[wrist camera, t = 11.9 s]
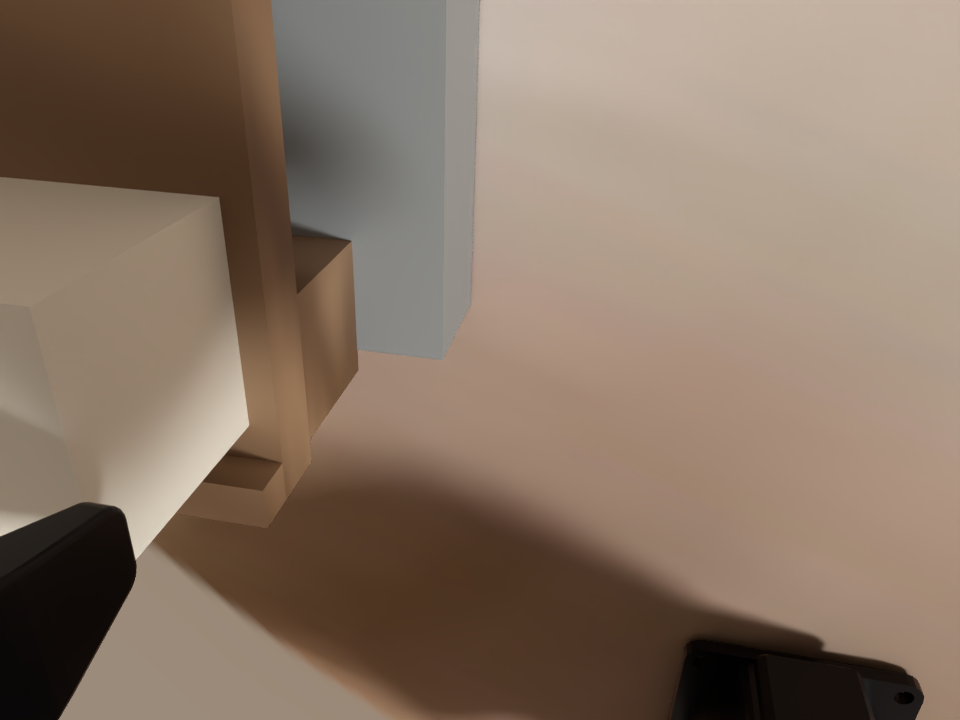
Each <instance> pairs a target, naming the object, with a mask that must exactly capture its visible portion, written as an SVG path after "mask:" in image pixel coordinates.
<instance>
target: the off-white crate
mask: <svg viewBox="0 0 960 720" xmlns="http://www.w3.org/2000/svg"><path fill="white" fill-rule="evenodd" d="M248 426H249V420H248V413H247V405H246V398H245V390H244V382H243V375H242V367H241V360H240V352H239V345H238V337H237V329H236V322H235V314H234V307H233V299H232V291H231V284H230V276H229V269H228V261H227V254H226V246H225V238H224V231H223V223H222V216H221V208H220V201H219V197H211V196H201V195H190V194H179V193H168V192H157V191H147V190H136V189H125V188H114V187H104V186H93V185H82V184H71V183H61V182H50V181H39V180H28V179H17V178H7V177H0V536H2V535H5V534H7V533H9V532H12V531H14V530H16V529H19V528H21V527H24V526H26V525H28V524H31V523H33V522H35V521H38V520H40V519H42V518H45V517H47V516H50V515H52V514H54V513H57V512H59V511H61V510H64V509H66V508H68V507H71V506H73V505H76V504H78V503H81V502H94V503H100V504H106V505H112V506H116V507H118V508H120V509H121V510H122V511H123V513H124V514H125V516H126V519H127V524H128V528H129V533H130V537H131V542H132V546H133V550H134V555H135V559H137V558H138V557H139V556H140V555H141V554H142V552H143V551H144V550H145V549H146V548H147V546H148V545H149V544H150V543H151V542H152V540H153V539H154V538H155V537H156V536H157V534H158V533H159V532H160V531H161V530H162V529H163V527H164V526H165V525H166V524H167V523H168V521H169V520H170V519H171V518H172V517H173V515H174V514H175V513H176V512H177V511H178V510H179V508H180V507H181V506H182V505H183V504H184V502H185V501H186V500H187V499H188V498H189V496H190V495H191V494H192V493H193V492H194V491H195V489H196V488H197V487H198V486H199V485H200V483H201V482H202V481H203V480H204V479H205V477H206V476H207V475H208V474H209V473H210V472H211V470H212V469H213V468H214V467H215V466H216V464H217V463H218V462H219V461H220V460H221V458H222V457H223V456H224V455H225V454H226V452H227V451H228V450H229V449H230V448H231V447H232V445H233V444H234V443H235V442H236V441H237V439H238V438H239V437H240V436H241V435H242V433H243V432H244V431H245V430H246V429H247V428H248Z"/></svg>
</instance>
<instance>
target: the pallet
mask: <svg viewBox="0 0 960 720" xmlns="http://www.w3.org/2000/svg"><path fill="white" fill-rule="evenodd" d="M0 177H7V178H17V179H28V180H39V181H50V182H61V183H71V184H82V185H93V186H104V187H114V188H125V189H136V190H147V191H157V192H168V193H179V194H190V195H201V196H211V197H219V201H220V208H221V216H222V223H223V231H224V238H225V246H226V254H227V261H228V269H229V276H230V284H231V291H232V299H233V307H234V314H235V322H236V329H237V337H238V345H239V352H240V360H241V367H242V375H243V382H244V390H245V398H246V405H247V413H248V420H249V426H248V428H247V429H246V430H245V431H244V432H243V433H242V435H241V436H240V437H239V438H238V439H237V441H236V442H235V443H234V444H233V445H232V447H231V448H230V449H229V450H228V451H227V452H226V454H225V455H224V456H223V457H222V458H221V460H220V461H219V462H218V463H217V464H216V466H215V467H214V468H213V469H212V470H211V472H210V473H209V474H208V475H207V476H206V477H205V479H204V480H203V481H202V482H201V483H200V485H199V486H198V487H197V488H196V489H195V491H194V492H193V493H192V494H191V495H190V496H189V498H188V499H187V500H186V501H185V502H184V504H183V505H182V506H181V507H180V508H179V510H178V511H177V512H176V513H175V514H180V515H186V516H193V517H199V518H205V519H211V520H217V521H223V522H230V523H236V524H242V525H248V526H254V527H260V528H268V527H269V525H270V524H271V522H272V521H273V519H274V518H275V516H276V515H277V513H278V512H279V510H280V509H281V507H282V506H283V504H284V503H285V501H286V500H287V498H288V496H289V495H290V493H291V492H292V490H293V489H294V487H295V486H296V484H297V483H298V481H299V480H300V478H301V477H302V475H303V474H304V472H305V471H306V469H307V468H308V466H309V465H310V463H311V462H312V458H311V446H310V439H311V437H312V436H313V435H314V433H315V432H316V430H317V429H318V427H319V426H320V424H321V423H322V422H323V420H324V419H325V417H326V416H327V414H328V413H329V412H330V410H331V409H332V407H333V406H334V404H335V403H336V401H337V400H338V399H339V397H340V396H341V394H342V393H343V391H344V390H345V388H346V387H347V386H348V384H349V383H350V381H351V380H352V378H353V377H354V375H355V374H356V373H357V371H358V354H357V334H356V314H355V294H354V274H353V254H352V241H348V240H337V239H327V238H317V237H307V236H297V235H292V232H291V220H290V209H289V198H288V187H287V175H286V164H285V153H284V141H283V130H282V119H281V107H280V96H279V85H278V74H277V62H276V51H275V40H274V28H273V17H272V6H271V0H0Z"/></svg>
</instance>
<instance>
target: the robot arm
mask: <svg viewBox="0 0 960 720" xmlns="http://www.w3.org/2000/svg"><path fill="white" fill-rule="evenodd" d="M135 577H136V559H135V555H134V550H133V546H132V542H131V537H130V533H129V528H128V524H127V519H126V516H125V514H124V513H123V511H122V510H121V509H120V508H118V507H116V506H112V505H106V504H100V503H94V502H81V503H78V504H76V505H73V506H71V507H68V508H66V509H64V510H61V511H59V512H57V513H54V514H52V515H50V516H47V517H45V518H42V519H40V520H38V521H35V522H33V523H31V524H28V525H26V526H24V527H21V528H19V529H16V530H14V531H12V532H9V533H7V534H5V535H2V536H0V720H58V719H59V718H60V716H61V715H62V713H63V711H64V709H65V708H66V706H67V704H68V703H69V701H70V699H71V698H72V696H73V694H74V692H75V691H76V689H77V687H78V685H79V683H80V682H81V680H82V678H83V676H84V674H85V672H86V670H87V669H88V667H89V665H90V663H91V661H92V660H93V658H94V656H95V654H96V652H97V651H98V649H99V647H100V645H101V643H102V641H103V639H104V638H105V636H106V634H107V632H108V630H109V629H110V627H111V625H112V623H113V621H114V620H115V618H116V616H117V614H118V612H119V610H120V609H121V607H122V605H123V603H124V601H125V599H126V598H127V596H128V594H129V592H130V590H131V588H132V586H133V584H134V581H135ZM698 656H704V657H705V658H699V657H698ZM923 701H924V695H923V692H922V689H921V687H920V684H919V682H918V680H917V679H915V678H914V677H913V676H910V675H907V674H902V673H896V672H890V671H884V670H879V669H873V668H867V667H861V666H855V665H849V664H844V663H838V662H832V661H826V660H820V659H814V658H808V657H803V656H797V655H791V654H785V653H779V652H773V651H768V650H762V649H756V648H750V647H744V646H738V645H733V644H727V643H721V642H715V641H709V640H699V639H697V640H693V641H690V642H689V643H688V644H686V646H685V648H684V651H683V655H682V660H681V664H680V669H679V673H678V678H677V682H676V686H675V691H674V695H673V700H672V704H671V709H670V713H669V717H668V720H915V719H916V717H917V714H918V712H919V710H920V708H921V706H922V704H923Z"/></svg>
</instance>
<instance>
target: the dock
mask: <svg viewBox="0 0 960 720" xmlns="http://www.w3.org/2000/svg"><path fill="white" fill-rule="evenodd" d="M271 6H272V17H273V28H274V40H275V51H276V62H277V74H278V85H279V96H280V107H281V119H282V130H283V141H284V153H285V164H286V175H287V187H288V198H289V209H290V220H291V232H292V235H297V236H307V237H317V238H327V239H337V240H348V241H352V254H353V274H354V294H355V314H356V334H357V350H364V351H373V352H381V353H389V354H397V355H405V356H413V357H421V358H429V359H438V360H443V358H444V356H445V354H446V352H447V350H448V348H449V346H450V344H451V342H452V340H453V338H454V336H455V335H456V333H457V331H458V329H459V327H460V325H461V323H462V321H463V319H464V317H465V315H466V313H467V311H468V309H469V307H470V305H471V284H472V249H473V215H474V181H475V147H476V113H477V79H478V45H479V11H480V0H271Z"/></svg>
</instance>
